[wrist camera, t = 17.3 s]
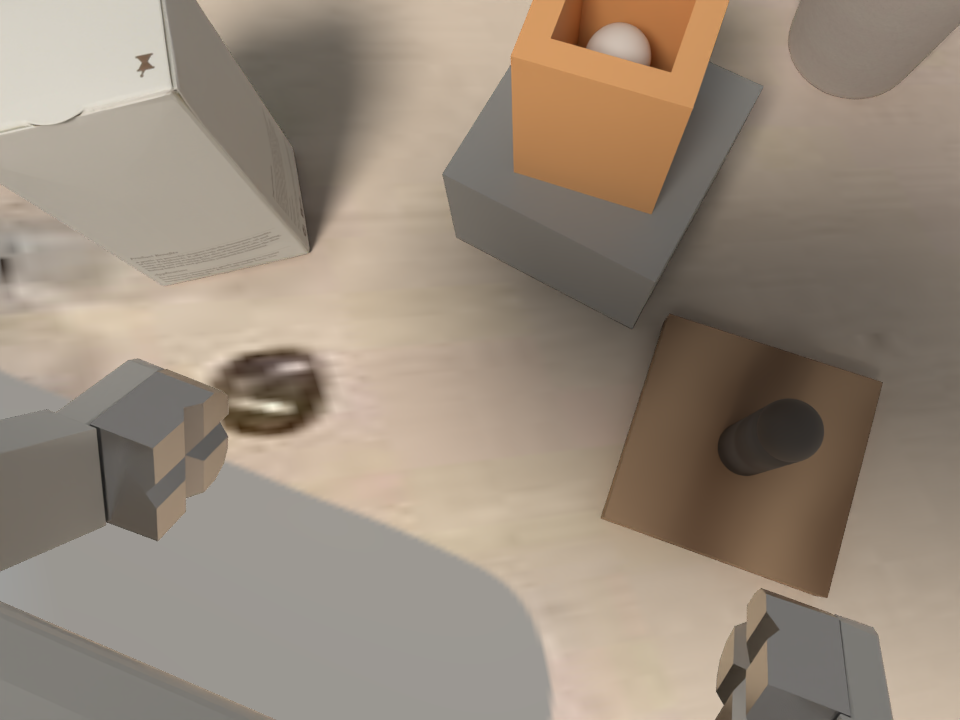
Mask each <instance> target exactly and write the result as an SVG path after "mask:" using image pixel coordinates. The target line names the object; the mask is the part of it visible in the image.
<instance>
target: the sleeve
mask: <svg viewBox="0 0 960 720" xmlns="http://www.w3.org/2000/svg"><path fill="white" fill-rule="evenodd" d="M728 3H729V0H533V2H532V4H531V7H530V9H529V12H528V14H527V17H526V19H525V22H524V24H523V27H522V29H521V32H520V34H519V37H518V39H517V42H516V44H515V47H514V49H513V52H512V54H511V85H512V125H513V164H514V172H515V173H518V174H522V175H525V176H528V177H531V178H535V179H538V180H541V181H544V182H548V183H551V184H554V185H557V186H561V187H564V188H567V189H570V190H573V191H577V192H580V193H583V194H586V195H590V196H593V197H596V198H599V199H603V200H606V201H609V202H612V203H616V204H619V205H622V206H625V207H629V208H632V209H635V210H638V211H642V212H645V213H648V214H652V212H653V209H654V207H655V204H656V202H657V199H658V196H659V194H660V191H661V189H662V186H663V184H664V181H665V179H666V176H667V173H668V171H669V168H670V166H671V163H672V161H673V158H674V156H675V153H676V150H677V148H678V145H679V143H680V140H681V138H682V135H683V133H684V130H685V127H686V125H687V122H688V120H689V117H690V115H691V112H692V110H693V107H694V104H695V101H696V98H697V95H698V92H699V89H700V86H701V83H702V80H703V77H704V74H705V71H706V68H707V65H708V62H709V59H710V56H711V53H712V50H713V47H714V44H715V42H716V39H717V36H718V33H719V30H720V27H721V24H722V21H723V18H724V15H725V12H726V9H727V6H728ZM616 22H623V23H628V24H631V25H633V26H635V27H637V28H638V29H640V30H641V31H642V32H643V33H644V35H645V36H646V38H647V39H648V42H649V44H650V48H651V63H650V66H646V65H643V64H639V63H635V62H632V61H628V60H625V59H621V58H618V57H614V56H611V55H607V54H604V53H600V52H597V51H593V50H590V49H586V46H587V44H588V42H589V40H590V39H591V37H592V36H593V35H594V34H595V32H597V31H598V30H599V29H600V28H602V27H603V26H606V25H608V24H611V23H616Z"/></svg>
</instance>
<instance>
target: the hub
mask: <svg viewBox="0 0 960 720" xmlns="http://www.w3.org/2000/svg"><path fill="white" fill-rule="evenodd" d="M586 49H590V50H593V51H597V52H600V53H604V54H607V55H611V56H614V57H618V58H621V59H625V60H628V61H632V62H635V63H639V64H643V65H646V66H650V63H651V48H650V44H649V42H648V39H647V38H646V36H645V35H644V33H643V32H642V31H641V30H640V29H638V28H637V27H635V26H633V25H631V24H628V23H623V22H616V23H611V24H608V25H606V26H603V27H602V28H600V29H599V30H598V31H597V32H595V34H594V35H593V36H592V37H591V39H590V40H589V42H588V44H587V46H586ZM763 87H764V86H762V85H759V84H757V83H755V82H753V81H751V80H748V79H746V78H744V77H742V76H740V75H737V74H735V73H733V72H731V71H729V70H726V69H724V68H722V67H720V66H717V65H715V64H713V63H711V62H708V65H707V68H706V71H705V74H704V77H703V80H702V83H701V86H700V89H699V92H698V95H697V98H696V101H695V104H694V107H693V110H692V112H691V115H690V117H689V120H688V122H687V125H686V127H685V130H684V133H683V135H682V138H681V140H680V143H679V145H678V148H677V150H676V153H675V156H674V158H673V161H672V163H671V166H670V168H669V171H668V173H667V176H666V179H665V181H664V184H663V186H662V189H661V191H660V194H659V196H658V199H657V202H656V204H655V207H654V209H653V212H652V214H648V213H645V212H642V211H638V210H635V209H632V208H629V207H625V206H622V205H619V204H616V203H612V202H609V201H606V200H603V199H599V198H596V197H593V196H590V195H586V194H583V193H580V192H577V191H573V190H570V189H567V188H564V187H561V186H557V185H554V184H551V183H548V182H544V181H541V180H538V179H535V178H531V177H528V176H525V175H522V174H518V173H515V172H514V164H513V125H512V85H511V65H510V67H509V69H508V70H507V72H506V73H505V75H504V77H503V78H502V80H501V81H500V83H499V84H498V86H497V88H496V89H495V91H494V92H493V94H492V96H491V97H490V99H489V100H488V102H487V104H486V105H485V107H484V108H483V110H482V112H481V113H480V115H479V116H478V118H477V120H476V121H475V123H474V124H473V126H472V128H471V129H470V131H469V132H468V134H467V136H466V137H465V139H464V140H463V142H462V144H461V145H460V147H459V148H458V150H457V151H456V153H455V155H454V156H453V158H452V159H451V161H450V163H449V164H448V166H447V167H446V169H445V171H444V172H443V179H444V183H445V188H446V193H447V197H448V202H449V206H450V211H451V215H452V220H453V225H454V229H455V234H456V237H457V238H459V239H461V240H462V241H464V242H466V243H468V244H470V245H472V246H474V247H476V248H478V249H480V250H482V251H483V252H485V253H487V254H489V255H491V256H493V257H495V258H497V259H499V260H501V261H503V262H505V263H506V264H508V265H510V266H512V267H514V268H516V269H518V270H520V271H522V272H524V273H526V274H527V275H529V276H531V277H533V278H535V279H537V280H539V281H541V282H543V283H545V284H547V285H549V286H550V287H552V288H554V289H556V290H558V291H560V292H562V293H564V294H566V295H568V296H570V297H571V298H573V299H575V300H577V301H579V302H581V303H583V304H585V305H587V306H589V307H591V308H593V309H594V310H596V311H598V312H600V313H602V314H604V315H606V316H608V317H610V318H612V319H614V320H615V321H617V322H619V323H621V324H623V325H625V326H627V327H629V328H631V329H632V328H633V326H634V324H635V322H636V320H637V319H638V317H639V315H640V313H641V311H642V310H643V308H644V306H645V304H646V302H647V301H648V299H649V297H650V295H651V293H652V291H653V290H654V288H655V286H656V284H657V282H658V281H659V279H660V277H661V275H662V273H663V272H664V270H665V268H666V266H667V264H668V262H669V261H670V259H671V257H672V255H673V253H674V252H675V250H676V248H677V246H678V244H679V242H680V241H681V239H682V237H683V235H684V233H685V232H686V230H687V228H688V226H689V224H690V223H691V221H692V219H693V217H694V215H695V213H696V212H697V210H698V208H699V206H700V204H701V203H702V201H703V199H704V197H705V195H706V194H707V192H708V190H709V188H710V186H711V184H712V183H713V181H714V179H715V177H716V175H717V174H718V172H719V170H720V168H721V166H722V164H723V163H724V161H725V159H726V157H727V155H728V153H729V151H730V149H731V147H732V146H733V144H734V142H735V140H736V138H737V136H738V134H739V132H740V130H741V128H742V127H743V125H744V123H745V121H746V119H747V117H748V115H749V113H750V111H751V110H752V108H753V106H754V104H755V102H756V100H757V98H758V96H759V94H760V92H761V91H762V89H763Z"/></svg>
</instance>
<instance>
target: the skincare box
mask: <svg viewBox="0 0 960 720" xmlns="http://www.w3.org/2000/svg"><path fill="white" fill-rule="evenodd" d="M0 184H1V185H3V186H4V187H6V188H7V189H9V190H11V191H12V192H14V193H15V194H17V195H19V196H20V197H22V198H24V199H25V200H27V201H28V202H30V203H32V204H33V205H35V206H36V207H38V208H39V209H41V210H43V211H44V212H46V213H47V214H49V215H51V216H52V217H54V218H55V219H57V220H59V221H60V222H62V223H63V224H65V225H67V226H68V227H70V228H71V229H73V230H75V231H76V232H78V233H79V234H81V235H82V236H84V237H86V238H87V239H89V240H90V241H92V242H94V243H95V244H97V245H99V246H100V247H102V248H103V249H105V250H107V251H108V252H110V253H111V254H113V255H114V256H116V257H118V258H119V259H121V260H122V261H124V262H125V263H127V264H129V265H130V266H132V267H134V268H135V269H137V270H138V271H140V272H141V273H143V274H144V275H146V276H148V277H149V278H151V279H153V280H154V281H156V282H157V283H159V284H160V285H162V286H167V285H172V284H177V283H181V282H186V281H190V280H195V279H199V278H204V277H208V276H213V275H217V274H222V273H226V272H231V271H235V270H240V269H244V268H248V267H253V266H257V265H262V264H266V263H270V262H275V261H279V260H284V259H288V258H292V257H296V256H300V255H304V254H307V253H309V250H310V248H309V241H308V234H307V228H306V221H305V215H304V209H303V203H302V197H301V191H300V185H299V179H298V173H297V168H296V162H295V157H294V151H293V147H292V146H291V144H290V142H289V141H288V140H287V138H286V137H285V135H284V134H283V132H282V131H281V129H280V127H279V126H278V124H277V123H276V121H275V120H274V118H273V117H272V115H271V114H270V112H269V111H268V109H267V108H266V106H265V105H264V103H263V102H262V100H261V99H260V97H259V95H258V94H257V92H256V91H255V89H254V88H253V86H252V85H251V83H250V82H249V80H248V79H247V77H246V76H245V74H244V73H243V71H242V70H241V68H240V67H239V65H238V64H237V62H236V61H235V59H234V58H233V56H232V55H231V53H230V52H229V50H228V49H227V47H226V45H225V44H224V42H223V41H222V39H221V38H220V36H219V35H218V33H217V32H216V30H215V29H214V27H213V25H212V24H211V23H210V21H209V20H208V18H207V17H206V15H205V14H204V12H203V10H202V9H201V7H200V6H199V4H198V3H197V1H196V0H0Z"/></svg>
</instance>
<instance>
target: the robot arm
mask: <svg viewBox="0 0 960 720" xmlns="http://www.w3.org/2000/svg"><path fill="white" fill-rule="evenodd" d="M228 414H229V410H228V396H227V395H226V394H225V393H224V392H223V391H221V390H218V389H216V388H213V387H211V386H208V385H206V384H203V383H201V382H198V381H196V380H193V379H191V378H188V377H186V376H183V375H180V374H178V373H175V372H173V371H170V370H168V369H163V368H161V367H158V366H156V365H153V364H151V363H148V362H146V361H143V360H141V359H133V360H128V361H126V362H125V363H123V364H122V365H121V366H119V367H118V368H117V369H115V370H114V371H112V372H111V373H110V374H108V375H107V376H106V377H104V378H103V379H101V380H100V381H99V382H97V383H96V384H95V385H93V386H92V387H90V388H89V389H88V390H86V391H85V392H83V393H82V394H81V395H79V396H78V397H77V398H75V399H74V400H72V401H71V402H70V403H68V404H67V405H66V406H64V407H63V408H62V409H60V410H59V411H57V412H56V413H55V412H52V411H50V410H47V409H46V410H42V411H38V412H33V413H29V414H24V415H20V416H15V417H11V418H6V419H2V420H0V571H2V570H5V569H7V568H9V567H12V566H14V565H16V564H19V563H21V562H23V561H25V560H27V559H30V558H32V557H34V556H37V555H39V554H41V553H44V552H46V551H48V550H51V549H53V548H55V547H58V546H60V545H62V544H64V543H67V542H69V541H71V540H74V539H76V538H78V537H81V536H83V535H85V534H87V533H90V532H92V531H94V530H97V529H99V528H101V527H103V526H105V525H106V522H107V523H110V524H113V525H115V526H118V527H121V528H123V529H126V530H129V531H132V532H134V533H137V534H140V535H142V536H145V537H148V538H151V539H153V540H156V541H159V540H160V539H161V538H162V536H163V535H164V534H165V533H166V532H167V531H168V530H169V529H170V528H171V527H172V526H173V525H174V524H175V523H176V522H177V520H178V519H179V518H180V517H181V516H182V515H183V514H184V513H185V512H186V498H188V497H192V496H194V495H197V494H200V493H203V492H205V490H206V489H207V488H208V487H209V486H210V485H211V484H212V482H213V481H214V480H215V479H216V477H217V475H218V473H219V471H220V470H221V468H222V466H223V464H224V461H225V457H226V453H227V449H228V435H227V433H226V432H225V430H224V428H223V427H222V425H221V423H220V422H221V421H222V420H223V419H224V418H225V417H226V416H227V415H228ZM716 692H717V694H718V696H719V698H720V699H721V701H722V703H723V705H724V706H723V708H722V709H721V711H720V713H719V714H718V716H717V717H716V719H715V720H893V715H892V709H891V704H890V698H889V693H888V687H887V681H886V676H885V670H884V665H883V659H882V653H881V648H880V642H879V637H878V634H877V632H876V631H875V629H874V628H873V627H870V626H867V625H865V624H862V623H859V622H856V621H853V620H850V619H847V618H845V617H842V616H839V615H836V614H835V615H833V614H831V613H829V612H826V611H823V610H821V609H818V608H815V607H812V606H809V605H807V604H804V603H801V602H798V601H795V600H793V599H790V598H787V597H784V596H782V595H779V594H776V593H773V592H770V591H768V590H765V589H762V588H761V589H759V590H758V591H757V592H756V593H755V594H754V595H753V597H752V599H751V600H750V602H749V603H748V605H747V622H745V623H742V624H740V625H737V626H735V627H734V628H733V630H732V632H731V634H730V636H729V637H728V639H727V641H726V643H725V646H724V649H723V652H722V655H721V658H720V662H719V668H718V674H717V686H716ZM0 720H275V719H273V718H271V717H268V716H266V715H264V714H261V713H259V712H257V711H255V710H252V709H250V708H247V707H245V706H243V705H241V704H238V703H236V702H234V701H231V700H229V699H227V698H224V697H222V696H220V695H217V694H215V693H213V692H210V691H208V690H206V689H203V688H201V687H199V686H196V685H194V684H192V683H189V682H187V681H185V680H182V679H180V678H178V677H176V676H173V675H170V674H169V673H166V672H164V671H162V670H159V669H157V668H155V667H152V666H150V665H147V664H145V663H143V662H141V661H138V660H136V659H134V658H131V657H129V656H127V655H124V654H122V653H120V652H117V651H115V650H113V649H110V648H108V647H106V646H103V645H101V644H99V643H96V642H94V641H92V640H89V639H87V638H85V637H82V636H80V635H78V634H75V633H73V632H71V631H68V630H66V629H64V628H61V627H59V626H57V625H54V624H52V623H50V622H48V621H45V620H43V619H41V618H38V617H36V616H33V615H31V614H29V613H27V612H24V611H22V610H20V609H17V608H15V607H13V606H10V605H8V604H6V603H3V602H1V601H0Z"/></svg>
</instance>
